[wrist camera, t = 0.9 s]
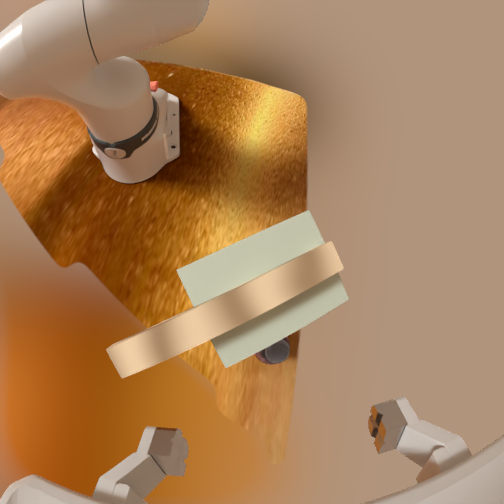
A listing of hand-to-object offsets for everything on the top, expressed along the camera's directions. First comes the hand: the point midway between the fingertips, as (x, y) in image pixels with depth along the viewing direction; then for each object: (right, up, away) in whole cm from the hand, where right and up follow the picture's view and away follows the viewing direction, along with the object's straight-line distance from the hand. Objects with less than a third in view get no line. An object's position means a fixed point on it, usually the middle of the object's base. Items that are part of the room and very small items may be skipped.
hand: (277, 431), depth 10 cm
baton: (-3, +2, +15) cm, 16 cm away
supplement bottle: (0, -9, +41) cm, 42 cm away
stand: (-4, +2, +42) cm, 42 cm away
